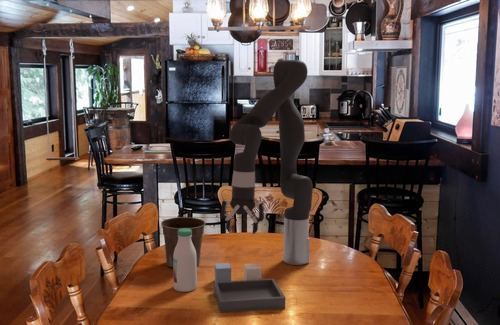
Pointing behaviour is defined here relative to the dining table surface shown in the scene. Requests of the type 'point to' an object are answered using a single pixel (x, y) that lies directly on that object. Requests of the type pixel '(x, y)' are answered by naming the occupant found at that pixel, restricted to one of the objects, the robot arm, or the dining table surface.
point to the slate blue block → (222, 272)
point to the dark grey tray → (248, 295)
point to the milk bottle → (184, 262)
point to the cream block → (252, 272)
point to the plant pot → (171, 235)
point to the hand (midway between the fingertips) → (241, 232)
